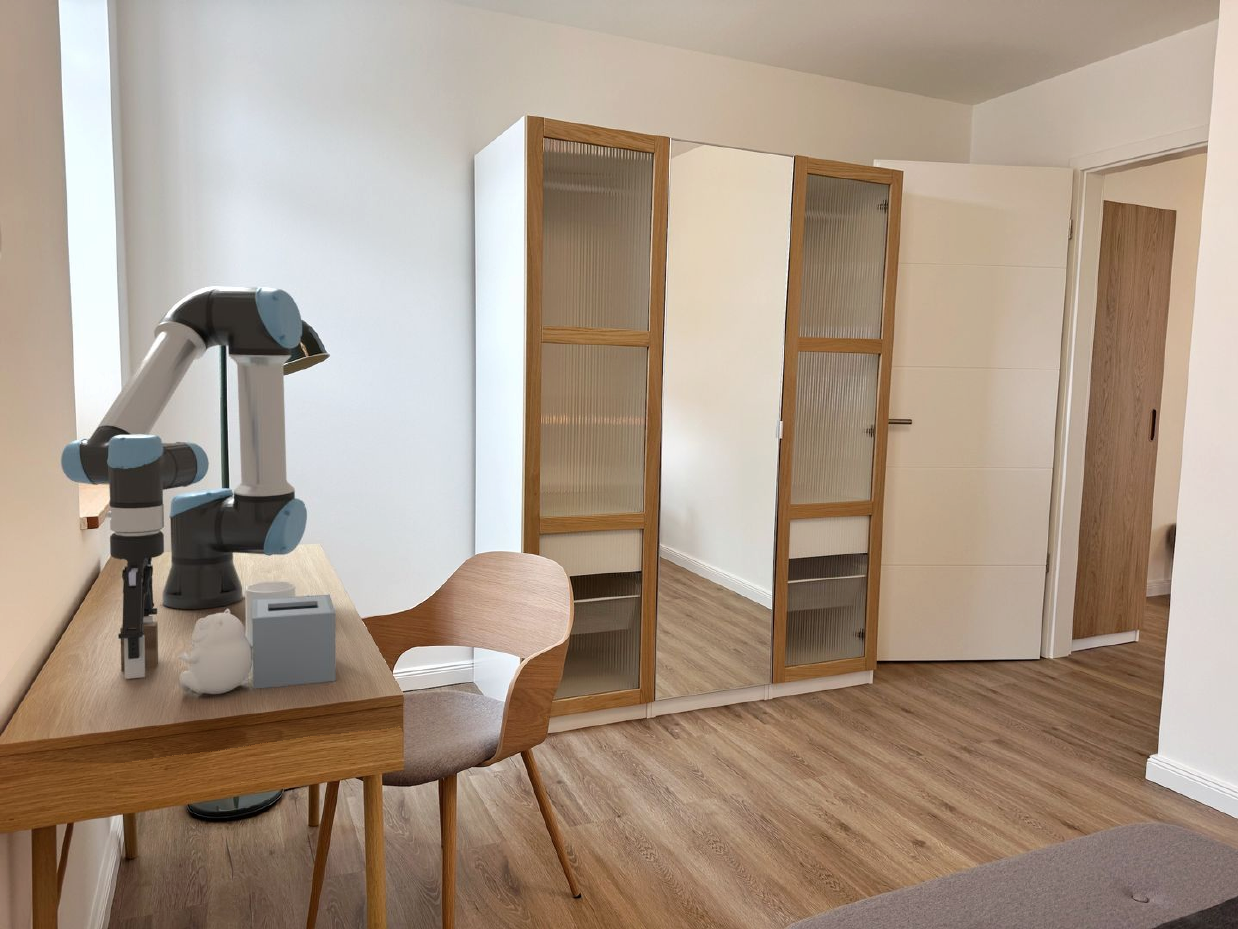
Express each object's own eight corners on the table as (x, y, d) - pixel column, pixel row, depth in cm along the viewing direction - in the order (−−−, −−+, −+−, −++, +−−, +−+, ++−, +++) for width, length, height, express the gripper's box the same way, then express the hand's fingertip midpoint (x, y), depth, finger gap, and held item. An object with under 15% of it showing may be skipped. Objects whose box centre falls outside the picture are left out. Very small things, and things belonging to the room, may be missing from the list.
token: (123, 666, 141) (122, 624, 141) (158, 663, 143) (157, 621, 142) (121, 671, 139) (120, 628, 138) (156, 668, 141) (155, 625, 140)
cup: (243, 650, 151) (242, 593, 150) (251, 630, 162) (250, 577, 161) (294, 647, 153) (293, 591, 152) (298, 628, 165) (297, 575, 164)
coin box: (253, 664, 144) (252, 599, 143) (329, 657, 148) (329, 594, 147) (253, 689, 133) (252, 618, 132) (335, 681, 137) (335, 612, 136)
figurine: (265, 680, 137) (264, 605, 136) (240, 703, 127) (239, 623, 126) (200, 679, 137) (199, 604, 135) (171, 701, 127) (169, 621, 126)
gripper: (120, 520, 148) (123, 646, 150) (97, 546, 127) (101, 692, 129) (170, 519, 151) (172, 642, 153) (155, 544, 130) (158, 687, 132)
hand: (139, 665), depth 141 cm, fingers open, 11 cm apart
